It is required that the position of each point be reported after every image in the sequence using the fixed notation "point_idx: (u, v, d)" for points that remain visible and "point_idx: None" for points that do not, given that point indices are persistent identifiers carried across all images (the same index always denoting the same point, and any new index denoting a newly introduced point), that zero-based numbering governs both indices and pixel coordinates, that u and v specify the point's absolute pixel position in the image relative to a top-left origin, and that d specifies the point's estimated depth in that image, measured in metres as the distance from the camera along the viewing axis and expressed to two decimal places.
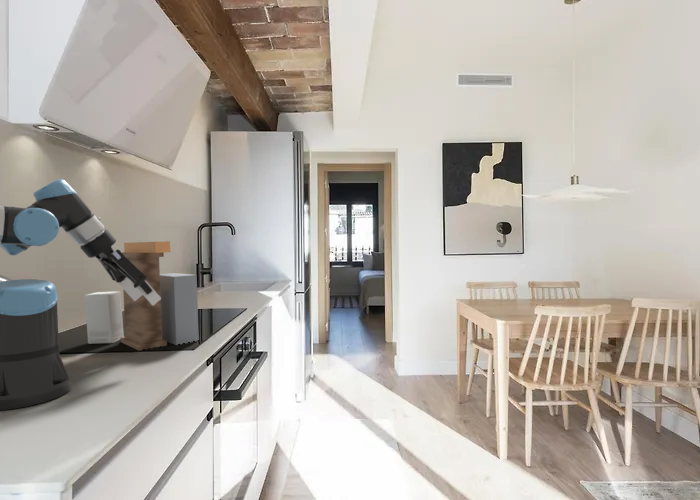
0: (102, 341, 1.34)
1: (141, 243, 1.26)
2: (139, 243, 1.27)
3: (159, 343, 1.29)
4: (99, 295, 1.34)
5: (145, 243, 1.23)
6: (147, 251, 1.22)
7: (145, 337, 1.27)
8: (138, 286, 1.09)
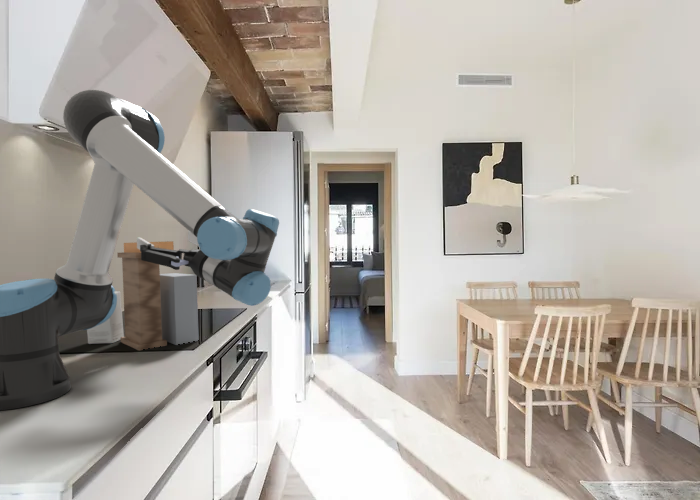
0: (102, 341, 1.34)
1: None
2: None
3: (159, 343, 1.29)
4: None
5: None
6: None
7: (145, 337, 1.27)
8: None
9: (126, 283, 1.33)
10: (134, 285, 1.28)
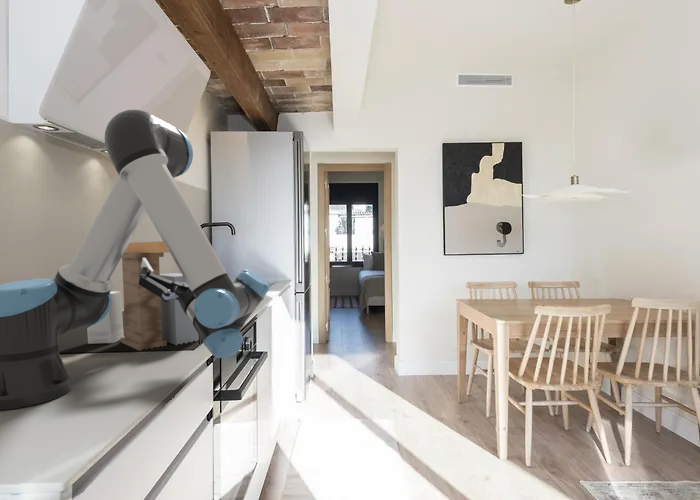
0: (102, 341, 1.34)
1: (143, 243, 1.26)
2: (141, 243, 1.27)
3: (159, 343, 1.29)
4: None
5: (148, 243, 1.24)
6: (150, 251, 1.23)
7: (145, 337, 1.27)
8: None
9: (126, 283, 1.33)
10: (134, 285, 1.28)
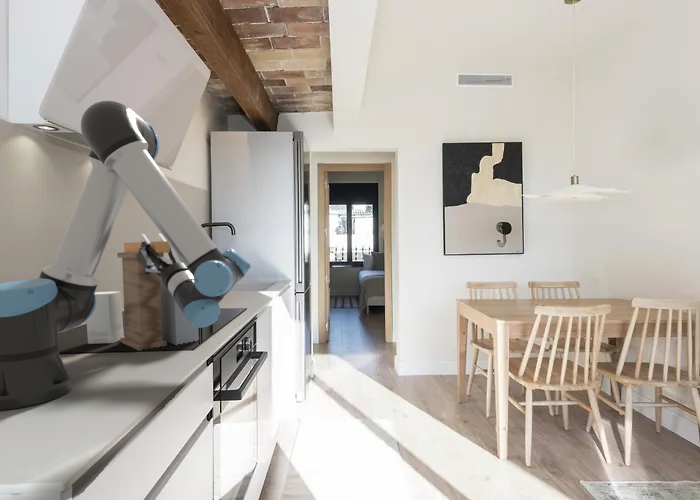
0: (102, 341, 1.34)
1: None
2: (139, 243, 1.27)
3: (159, 343, 1.29)
4: (99, 295, 1.34)
5: None
6: None
7: (145, 337, 1.27)
8: None
9: (126, 283, 1.33)
10: (134, 285, 1.28)
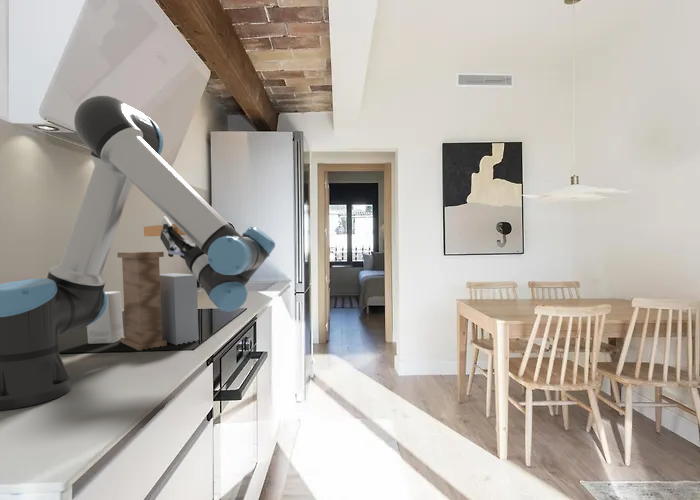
0: (102, 341, 1.34)
1: (162, 226, 1.21)
2: (160, 226, 1.22)
3: (159, 343, 1.29)
4: None
5: None
6: None
7: (145, 337, 1.27)
8: None
9: (126, 283, 1.33)
10: (134, 285, 1.28)
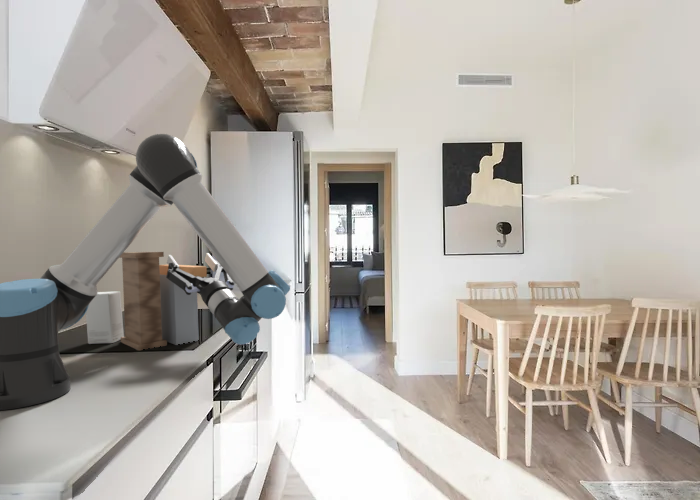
0: (102, 341, 1.34)
1: None
2: None
3: (159, 343, 1.29)
4: (99, 295, 1.34)
5: (182, 267, 1.29)
6: None
7: (145, 337, 1.27)
8: None
9: (126, 283, 1.33)
10: (134, 285, 1.28)
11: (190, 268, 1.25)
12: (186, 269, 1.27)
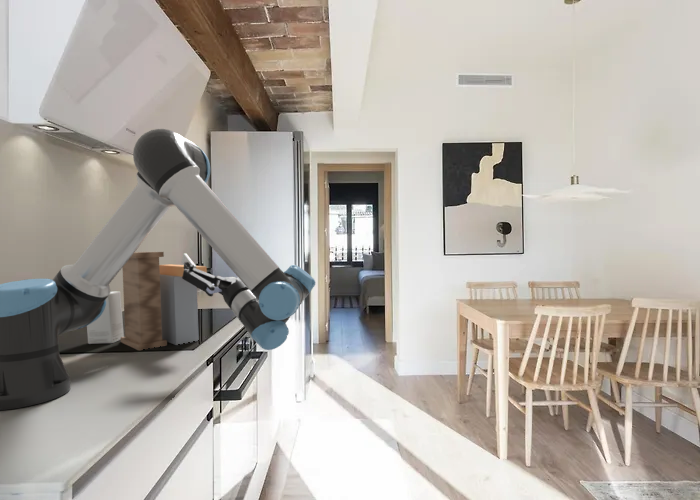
0: (102, 341, 1.34)
1: (177, 267, 1.31)
2: (175, 267, 1.32)
3: (159, 343, 1.29)
4: None
5: (182, 267, 1.29)
6: None
7: (145, 337, 1.27)
8: None
9: (126, 283, 1.33)
10: (134, 285, 1.28)
11: None
12: None
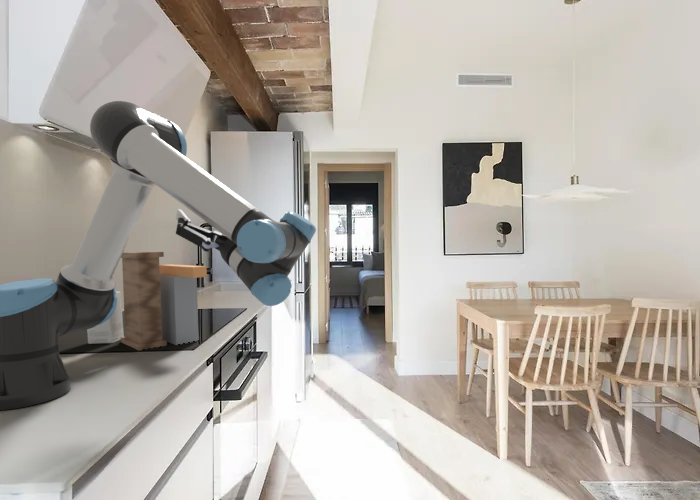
0: (102, 341, 1.34)
1: (177, 267, 1.31)
2: (175, 267, 1.32)
3: (159, 343, 1.29)
4: None
5: (182, 267, 1.29)
6: (184, 275, 1.28)
7: (145, 337, 1.27)
8: None
9: (126, 283, 1.33)
10: (134, 285, 1.28)
11: (190, 268, 1.25)
12: (186, 269, 1.27)
